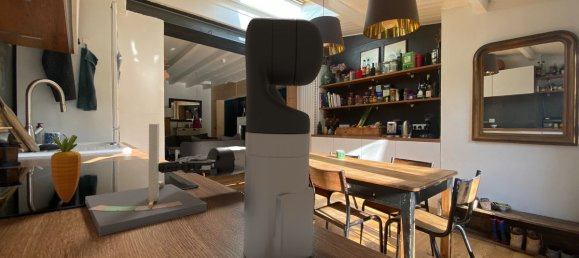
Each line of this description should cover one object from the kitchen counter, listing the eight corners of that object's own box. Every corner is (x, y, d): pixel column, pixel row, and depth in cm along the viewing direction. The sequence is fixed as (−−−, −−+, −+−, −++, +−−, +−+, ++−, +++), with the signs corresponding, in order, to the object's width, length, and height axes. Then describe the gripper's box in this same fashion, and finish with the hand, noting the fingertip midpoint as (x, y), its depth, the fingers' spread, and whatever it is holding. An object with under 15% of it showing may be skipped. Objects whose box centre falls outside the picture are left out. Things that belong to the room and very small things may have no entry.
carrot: (44, 206, 53) (44, 135, 52) (64, 199, 58) (64, 134, 57) (68, 206, 53) (68, 135, 52) (86, 199, 58) (86, 134, 57)
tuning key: (159, 206, 49) (159, 124, 48) (141, 208, 48) (142, 124, 47) (164, 184, 65) (165, 123, 65) (151, 185, 64) (151, 123, 64)
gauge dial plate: (206, 210, 52) (206, 202, 52) (96, 236, 40) (96, 226, 40) (171, 189, 68) (171, 183, 68) (82, 203, 55) (82, 196, 55)
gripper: (217, 144, 72) (151, 148, 60) (242, 149, 63) (169, 154, 51) (217, 170, 73) (151, 179, 61) (242, 178, 63) (169, 191, 51)
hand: (159, 167), depth 56 cm, fingers closed
